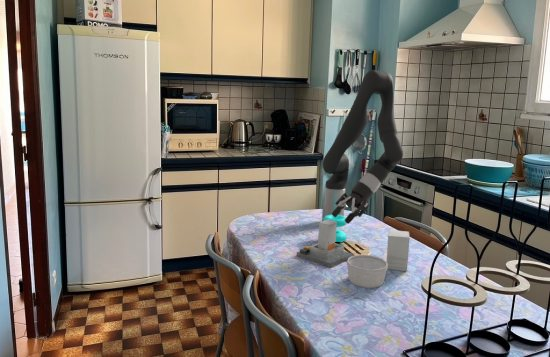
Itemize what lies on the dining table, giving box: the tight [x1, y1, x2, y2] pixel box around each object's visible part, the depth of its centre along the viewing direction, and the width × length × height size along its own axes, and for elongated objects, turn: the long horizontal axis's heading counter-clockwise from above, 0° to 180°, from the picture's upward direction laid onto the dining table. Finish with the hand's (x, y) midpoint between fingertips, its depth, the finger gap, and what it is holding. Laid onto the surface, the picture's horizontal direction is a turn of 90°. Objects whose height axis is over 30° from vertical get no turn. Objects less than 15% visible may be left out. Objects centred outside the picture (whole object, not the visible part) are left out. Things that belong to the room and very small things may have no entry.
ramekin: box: [346, 254, 388, 289], centre depth 154 cm, size 13×13×7 cm
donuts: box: [323, 215, 348, 243], centre depth 194 cm, size 10×10×10 cm
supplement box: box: [386, 229, 411, 272], centre depth 166 cm, size 7×7×13 cm
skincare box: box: [317, 219, 337, 251], centre depth 175 cm, size 6×4×12 cm
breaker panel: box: [296, 242, 354, 269], centre depth 175 cm, size 16×14×4 cm
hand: (339, 218), depth 176 cm, fingers open, 8 cm apart
